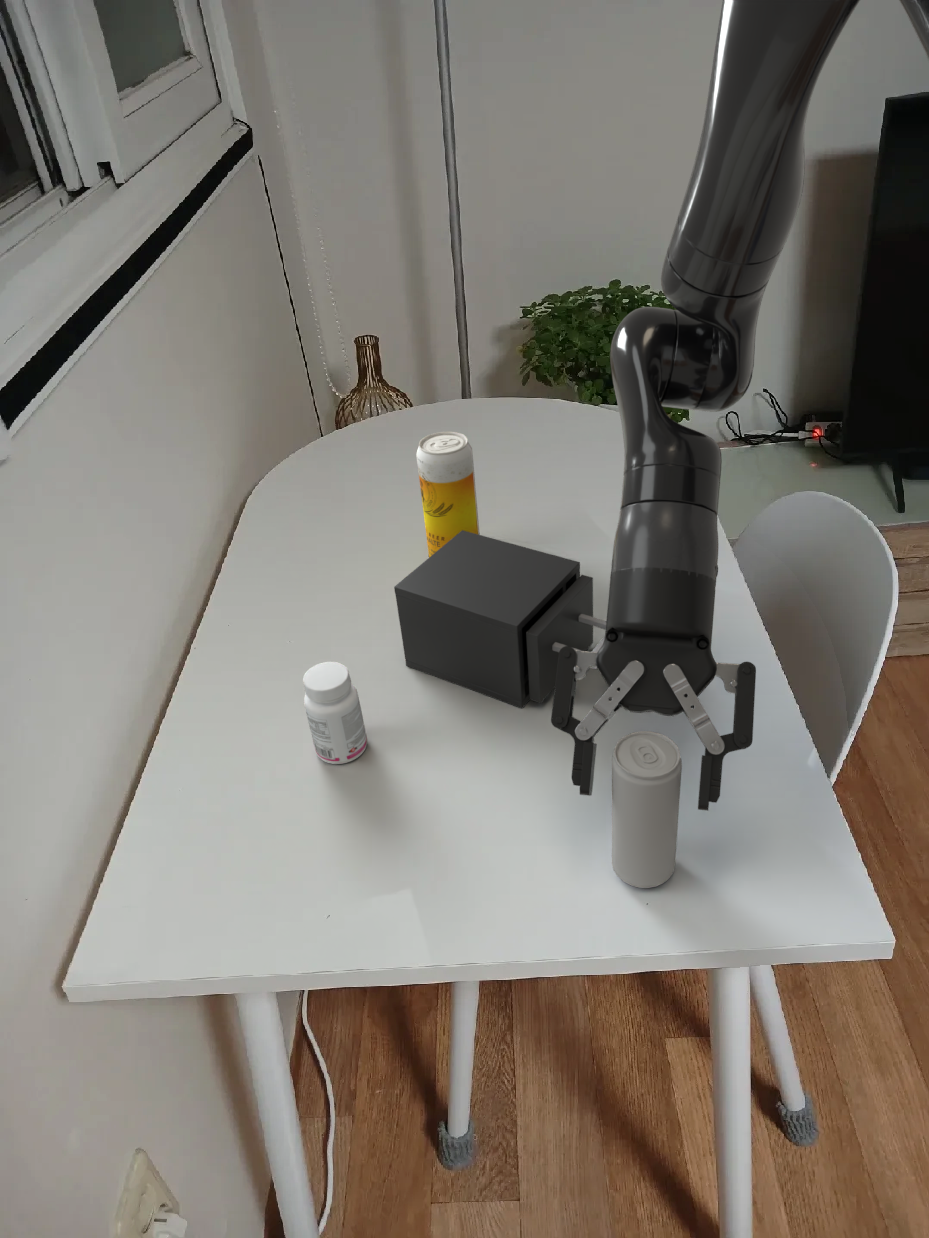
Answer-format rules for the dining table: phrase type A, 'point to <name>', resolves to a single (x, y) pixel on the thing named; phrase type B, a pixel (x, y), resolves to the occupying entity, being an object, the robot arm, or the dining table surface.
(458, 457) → the beer can
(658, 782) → the beverage can
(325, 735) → the pill bottle
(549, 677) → the drawer
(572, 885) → the dining table surface
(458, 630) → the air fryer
